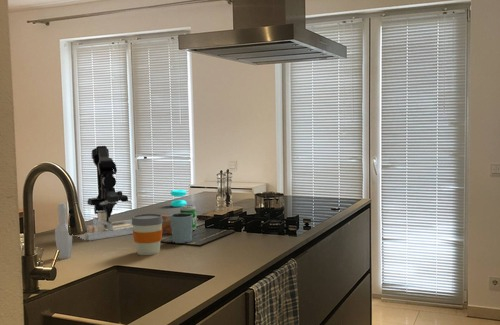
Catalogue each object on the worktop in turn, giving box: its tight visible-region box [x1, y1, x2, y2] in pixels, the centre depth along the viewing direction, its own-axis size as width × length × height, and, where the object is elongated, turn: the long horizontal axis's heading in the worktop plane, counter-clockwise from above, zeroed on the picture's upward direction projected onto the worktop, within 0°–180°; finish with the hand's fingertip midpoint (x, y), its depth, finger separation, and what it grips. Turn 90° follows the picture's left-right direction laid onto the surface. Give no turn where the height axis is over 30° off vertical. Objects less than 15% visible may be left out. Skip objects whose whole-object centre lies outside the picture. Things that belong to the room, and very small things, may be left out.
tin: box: [162, 215, 172, 235], centre depth 259 cm, size 15×3×8 cm, turn 62°
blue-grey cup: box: [169, 212, 193, 244], centre depth 239 cm, size 10×10×12 cm
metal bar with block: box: [92, 212, 113, 230], centre depth 259 cm, size 20×3×7 cm, turn 38°
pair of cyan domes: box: [170, 189, 188, 208], centre depth 340 cm, size 10×10×10 cm
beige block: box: [93, 224, 104, 232], centre depth 255 cm, size 4×4×3 cm
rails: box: [86, 218, 134, 242], centre depth 262 cm, size 21×31×3 cm
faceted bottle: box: [54, 202, 73, 260], centre depth 214 cm, size 6×6×22 cm
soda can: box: [179, 204, 197, 232], centre depth 263 cm, size 8×8×12 cm
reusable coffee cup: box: [131, 213, 163, 256], centre depth 219 cm, size 13×13×15 cm
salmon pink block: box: [87, 225, 94, 233], centre depth 260 cm, size 4×4×3 cm
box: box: [77, 228, 88, 241], centre depth 256 cm, size 15×12×4 cm
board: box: [104, 223, 133, 231], centre depth 265 cm, size 13×15×2 cm
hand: (108, 217), depth 261 cm, fingers closed
